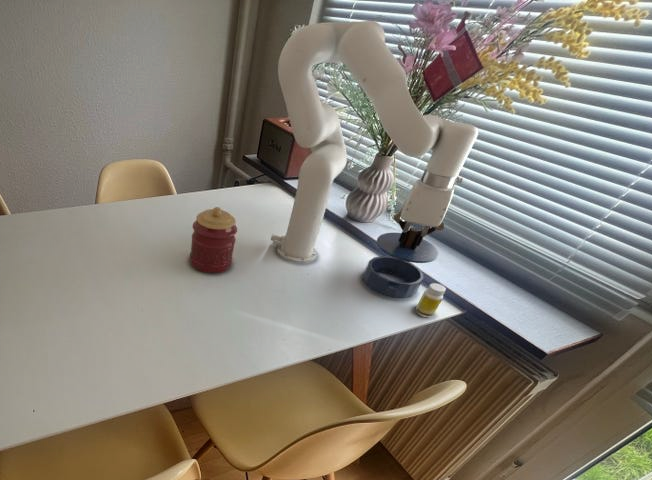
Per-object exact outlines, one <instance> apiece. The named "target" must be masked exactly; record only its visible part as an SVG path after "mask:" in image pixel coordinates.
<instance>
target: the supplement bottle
mask: <svg viewBox="0 0 652 480" xmlns="http://www.w3.org/2000/svg"><path fill="white" fill-rule="evenodd" d="M446 290H447V288H446V286H444V285H443V284H440V283H437V282H432V283H430V284H429V286H428V287H427V289H425V290H424V292H423V293H422V296H421V297H420V299H419V300H418V303H417V304H416V306H415V311H416V313H417V314H418V316H421V317H423V318H431V317H433V316H434V314H435V312H436V311H437V310H438V307H439V306H440V304H441V302H442V301H443V298H444V294H445V293H446Z"/></svg>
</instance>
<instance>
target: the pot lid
mask: <svg viewBox="0 0 652 480" xmlns="http://www.w3.org/2000/svg"><path fill="white" fill-rule="evenodd" d="M420 231H421V229H420V228H418V227H416V226H415V227H414V226H413V227H412V226H410V227H409V231H408V236H407V238H406V240H405V242H404V245H403V246H402V247H400V242H398V241H399V238H400V236H401V233H402V232H385V233H382V234H381V235H379V236H378V237H377V239H376V245H377V247H378V249H379V250H380V251H381V252H383V253H385V254H386V255H388V256H389V257H391V256H392V257H394V258H397V259H399V260H403V261H407V262H410V263H412V264H413V263H414V264H428V263H431V262H432V263H433V262H434V261H436V260H437V258H438V256H439V250H438V249H437V248H436V247H435V246H434V244H432V243H431V242H429V241H428V240H426V239H424V238H423V239H422V241H421V243H420V245H419V246H416V249H415V250H414V249H412V247H413V245H414V243H415V240H416V238H417V236H418V234H419V232H420Z"/></svg>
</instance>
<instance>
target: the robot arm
mask: <svg viewBox="0 0 652 480" xmlns="http://www.w3.org/2000/svg"><path fill="white" fill-rule="evenodd" d="M385 40H386V32H385V30H384V27H383V26H382V25H381V24H380V23H379V22H377V21H375V20H363V21H332V22H331V21H329V22H318V23H312V24H307V25H304V26H302V27H301V28H299V29H297V30H296V31H295V32H294V33H293V34H292V35H291V36H290V37H289V38H288V39H287V41H286V42H285V43H284V46H283V48H282V50H281V52H280V56H279V58H278V64H277V75H278V76H277V77H278V81H279V85H280V89H281V92H282V96H283V99H284V103H285V107H286V111H287V115H288V119H289V122H290V123H289V124H290V127H291V130H292V134H293V137H294V140H295V142H296V144H297V145H298V146H299V147H301V148H304V149H310V150H311V153H310V154H309V155H307V157H306V158H305V159H304V161H303V163H302V164H301V166H300V168H299V173H298V178H297V179H298V180H297V185H296V186H297V187H296V191H295V196H294V200H293V204H292V205H293V206H292V210H291V214H290V217H289V220H288V221H289V222H288V225H287V229H286V232H285V233H286V234H285V235H281V236H279V235H277V234H271V237H270V241H272V244H273V245H278V246H277V253H278V255H280V257H282V258H284V259H285V260H286V261H287V260H288V261H291V262H294V263H300V264H301V263H302V264H304V263H305V264H306V263H311V262H313V261H315V259H317V255H318V252H317V250H316V249H315V245H316V242H317V239H318V236H319V233H320V230H321V226H322V223H323V220H324V216H325V213H326V209H327V206H328V203H329V199H330V195H331V189H332V185H333V182H334V180H335V179H336V178H337V177H338V176H339V175H340V174H341V173H342V172H343V170H344V169H345V168H346V165H347V162H348V152H347V147H346V143H345V138H344V134H343V130H342V126H341V121H340V118H339V115H338V113H337V111H336V109H335V108H334V107H333V106H332V105H330V103H329V104H328V103H325V102H322V101H321V97H320V94H319V93H320V92H319V88H318V84H317V81H316V80H315V77H314V75H313V67H314V66H316V65H319V64H325V63H328V64H329V63H333V64H334V63H337V64H339V63H340V64H341V63H342V64H343V65H344V66H345V67H346V69H347V70H348V71H349V73H350V74H351V75H352V77H353V78H354V80H355V81H356V82H357V84H358V85H359V87H360V88H361V89H362V91H363V92H364V94H365V95H366V97H368V99H369V100H370V101H371V105H372V107H373V110H374V112H375V113H376V116H377V117H378V120H379V122H380V124H381V126H382V128H383V129H384V131H385V132H386V134H387V135H388V137H389V138H390V139H391V141H392V143H393V144H394V145H395V146H396V148H397V149H398V150H399V151H400V152H401V153H402V154H403V155H405V156H406V157H409V158H418V157H421V156H424V155H426V154H427V153H428V152H430V150H431V151H432V152H431V155H430V158H429V160H428V161H427V164H426V166H425V169H424V171H423V172H422V175H421V178H417V179H416V181H415V182H414V184H413V186H412V187H411V188H410V191H409V193H408V195H407V196H406V198H405V200H404V202H403V205H402V207H401V208H400V209H399V210H398V211H397V212H396V213H395V214H394V215H393V216H392V220H393V221H394V222H395V223H397V224H398V225H399V227H400V229H401V230H402V231H401V232H400V233H401V236H400V238H399V241H398V242H400V247H402V246H403V245H404V242H405V240H406V238H407V236H408V231H409V229H410V228H411V227H412V224H416V225H421V226H422V227H421V229H420V232H419V234H418V236H417V238H416V240H415V243H414V245H413V247H412V249H414V250H415V249H416V246H419V245H420V243H421V241H422V239H424V237H426V236H427V235H429V234H431V233H434V232H438V231H443V230H445V216H446V214H447V212H448V209H449V207H450V205H451V201H452V198H453V196H454V192H455V189H456V188H455V187H456V186H455V185H457V184H458V185H461V184H462V182H463V181H464V178H463V177H460V176H459V174H460V172H461V170H462V168H463V166H464V164H465V162H466V160H467V158H468V156H469V154H470V152H471V150H472V148H473V146H474V144H475V142H476V141H477V138H478V136H479V129H478V127H476V126H475V125H473V124H471V123H466V122H462V121H461V122H460V121H451V120H448V119H445V118H442V117H439V116H437V115H433V114H424V115H423V114H422V113H421V112H420V110H419V108H418V107H417V105H416V104H415V102H414V100H413V98H412V96H411V93H410V91H409V86H408V77H407V74H406V71H405V69H404V68H403V66H402V65H401V64H400V63H399V61H398V59H397V58H396V57H395V55H394V54H393V52H392V51H391V50H390V48H389V47H388V45H387V44H386V41H385Z"/></svg>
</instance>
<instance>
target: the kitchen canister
mask: <svg viewBox="0 0 652 480" xmlns="http://www.w3.org/2000/svg"><path fill="white" fill-rule="evenodd" d="M195 219H196V220H195V221H194V222H193V223H192V229H193V232H192V234H191V244H190V245H191V247H190V253H189V260H190V265H191V266H192V268H194V269H195V270H198V271H199V272H203V273H207V274H221V273H223V272H226V271H227V270H229V269H230V267H231V265H232V263H233V253H234V249H235V248H234V247H235V243H236V236H235V235H236V234H237V232H238V226H237V225H236V218H235V217H234V216H233V215H232V214H231V213H230V212H228V211H226V210H223V209H221V208H220V207H218V206H215V207H214V208H210V209H206V210H205V209H204V211H201V212H199V213H198V214H196V217H195Z"/></svg>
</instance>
